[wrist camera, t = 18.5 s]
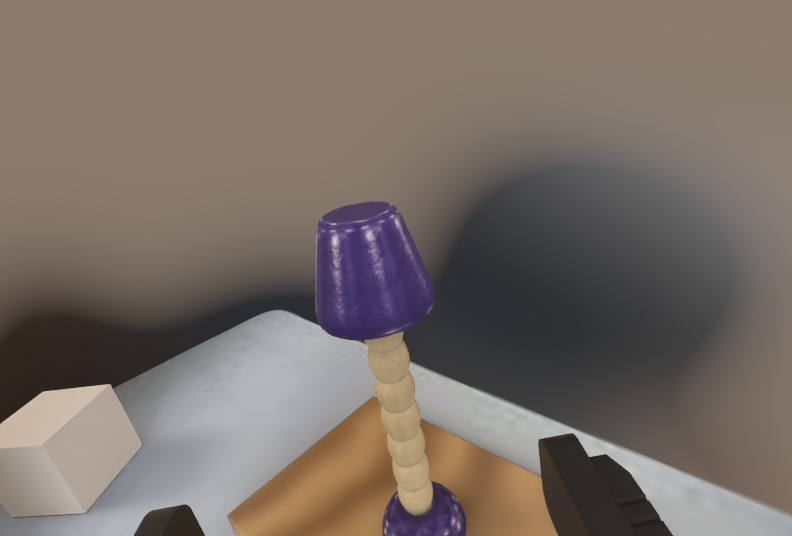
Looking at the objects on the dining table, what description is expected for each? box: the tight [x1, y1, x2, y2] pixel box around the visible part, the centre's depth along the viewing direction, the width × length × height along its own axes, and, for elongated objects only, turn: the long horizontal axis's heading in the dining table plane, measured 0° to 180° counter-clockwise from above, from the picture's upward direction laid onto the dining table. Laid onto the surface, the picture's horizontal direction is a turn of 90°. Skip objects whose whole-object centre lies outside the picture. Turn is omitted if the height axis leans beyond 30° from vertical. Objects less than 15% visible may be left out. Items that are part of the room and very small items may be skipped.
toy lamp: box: [315, 202, 467, 536], centre depth 18 cm, size 5×5×17 cm
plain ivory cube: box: [0, 384, 142, 517], centre depth 31 cm, size 6×6×6 cm
